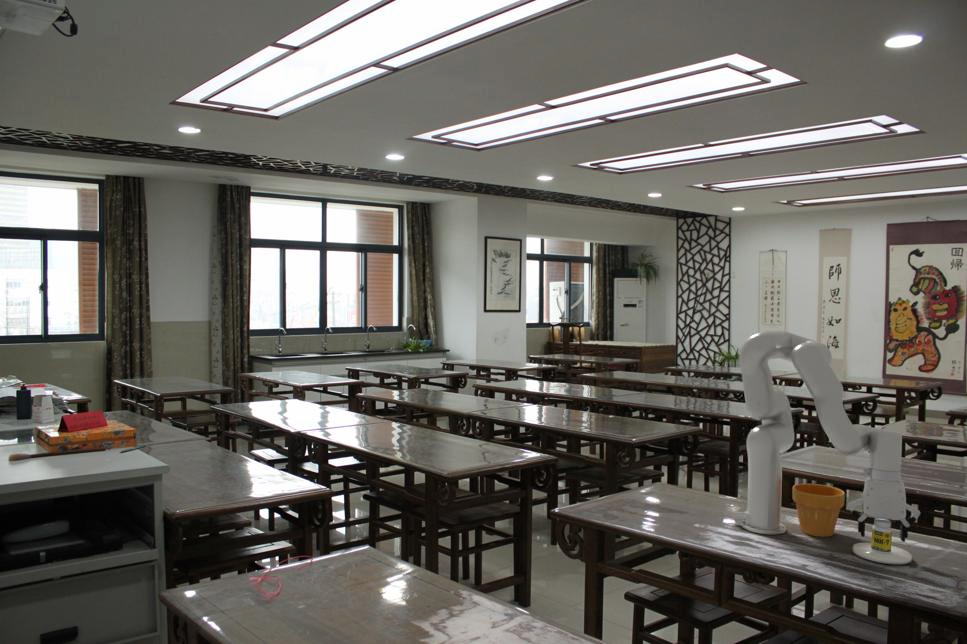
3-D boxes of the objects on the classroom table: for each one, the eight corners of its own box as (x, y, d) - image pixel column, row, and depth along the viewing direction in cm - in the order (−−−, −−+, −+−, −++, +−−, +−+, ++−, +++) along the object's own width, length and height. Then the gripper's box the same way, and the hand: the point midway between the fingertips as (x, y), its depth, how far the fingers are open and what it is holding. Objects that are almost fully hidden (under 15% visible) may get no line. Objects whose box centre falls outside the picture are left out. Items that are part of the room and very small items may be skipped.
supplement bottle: (871, 551, 195) (872, 521, 194) (870, 546, 199) (872, 516, 199) (891, 555, 192) (892, 524, 192) (890, 550, 197) (892, 519, 196)
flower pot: (837, 543, 206) (839, 498, 206) (785, 533, 215) (787, 489, 214) (847, 531, 217) (849, 488, 217) (797, 522, 226) (799, 481, 225)
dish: (855, 561, 192) (856, 555, 192) (849, 545, 205) (850, 539, 205) (916, 569, 187) (916, 563, 186) (906, 552, 200) (906, 546, 200)
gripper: (850, 474, 195) (848, 537, 195) (924, 481, 188) (921, 546, 189) (847, 469, 202) (845, 529, 202) (918, 475, 195) (916, 538, 196)
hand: (882, 537), depth 195 cm, fingers open, 9 cm apart
